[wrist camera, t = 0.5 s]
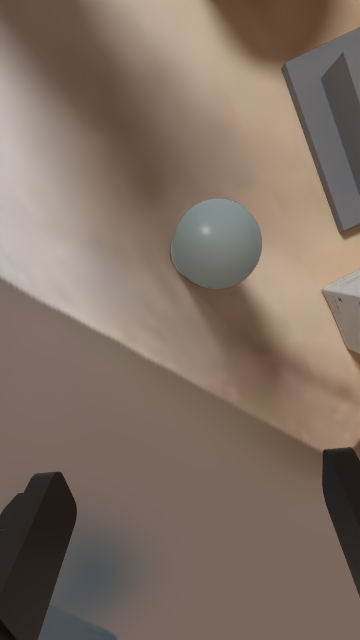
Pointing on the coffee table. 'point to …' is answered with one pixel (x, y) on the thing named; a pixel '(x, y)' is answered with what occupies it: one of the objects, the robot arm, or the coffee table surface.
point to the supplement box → (346, 307)
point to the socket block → (331, 119)
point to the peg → (216, 244)
